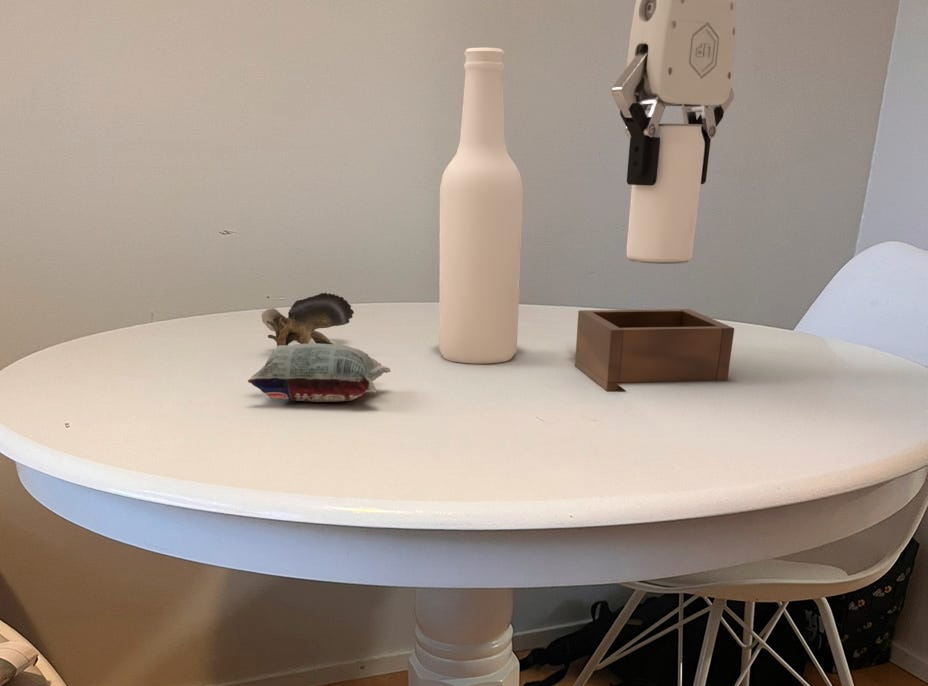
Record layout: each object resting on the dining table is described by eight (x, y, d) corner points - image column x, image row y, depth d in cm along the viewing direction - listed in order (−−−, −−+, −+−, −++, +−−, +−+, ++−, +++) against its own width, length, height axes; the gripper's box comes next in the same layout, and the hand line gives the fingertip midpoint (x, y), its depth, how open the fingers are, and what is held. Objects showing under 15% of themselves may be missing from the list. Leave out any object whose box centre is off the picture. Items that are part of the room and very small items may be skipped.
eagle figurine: (308, 353, 106) (367, 328, 111) (273, 294, 104) (334, 270, 110) (279, 381, 112) (335, 356, 117) (245, 325, 111) (304, 302, 116)
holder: (683, 363, 108) (689, 308, 106) (726, 388, 97) (734, 328, 95) (574, 365, 107) (578, 310, 104) (606, 391, 96) (611, 330, 93)
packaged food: (273, 385, 97) (269, 334, 94) (391, 389, 96) (390, 337, 93) (248, 407, 89) (243, 352, 87) (376, 412, 88) (375, 356, 86)
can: (643, 255, 101) (655, 124, 96) (702, 260, 98) (718, 124, 92) (614, 260, 96) (625, 123, 91) (675, 265, 93) (690, 123, 88)
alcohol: (531, 355, 112) (545, 50, 98) (488, 368, 105) (496, 43, 92) (468, 346, 116) (473, 54, 103) (423, 358, 110) (422, 47, 96)
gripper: (655, -59, 78) (634, 187, 86) (784, -35, 88) (754, 184, 96) (588, -46, 84) (574, 184, 92) (717, -26, 93) (694, 182, 101)
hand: (666, 182), depth 94 cm, fingers closed on can, 6 cm apart
